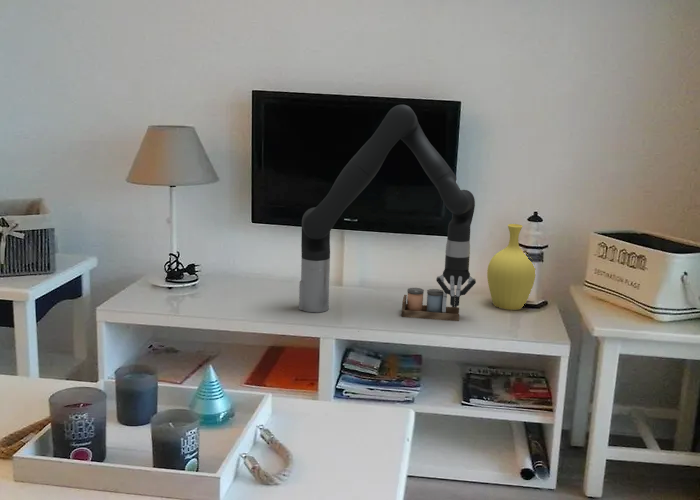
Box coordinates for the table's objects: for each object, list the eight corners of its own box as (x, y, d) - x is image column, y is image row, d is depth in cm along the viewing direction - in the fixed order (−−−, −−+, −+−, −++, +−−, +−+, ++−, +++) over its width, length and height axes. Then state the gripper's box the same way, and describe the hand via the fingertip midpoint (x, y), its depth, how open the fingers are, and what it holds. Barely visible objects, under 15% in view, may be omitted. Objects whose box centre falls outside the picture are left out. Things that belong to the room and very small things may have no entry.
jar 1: (405, 315, 250) (407, 291, 248) (406, 311, 255) (407, 287, 253) (422, 316, 249) (423, 292, 247) (422, 312, 254) (424, 288, 252)
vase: (485, 310, 262) (491, 228, 256) (484, 297, 277) (489, 219, 271) (534, 313, 260) (542, 231, 254) (530, 300, 275) (537, 222, 269)
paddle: (441, 318, 248) (442, 297, 246) (441, 312, 254) (443, 292, 252) (445, 318, 248) (446, 297, 246) (445, 312, 254) (446, 292, 252)
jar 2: (424, 316, 249) (425, 292, 248) (427, 312, 254) (428, 288, 253) (440, 318, 248) (442, 294, 246) (443, 313, 253) (444, 290, 251)
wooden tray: (401, 319, 249) (402, 301, 247) (403, 312, 257) (404, 294, 255) (458, 323, 246) (459, 305, 245) (458, 316, 254) (459, 298, 253)
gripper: (478, 252, 249) (475, 305, 252) (436, 250, 250) (433, 302, 254) (479, 257, 241) (475, 311, 245) (436, 255, 243) (433, 308, 247)
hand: (454, 306), depth 250 cm, fingers closed
